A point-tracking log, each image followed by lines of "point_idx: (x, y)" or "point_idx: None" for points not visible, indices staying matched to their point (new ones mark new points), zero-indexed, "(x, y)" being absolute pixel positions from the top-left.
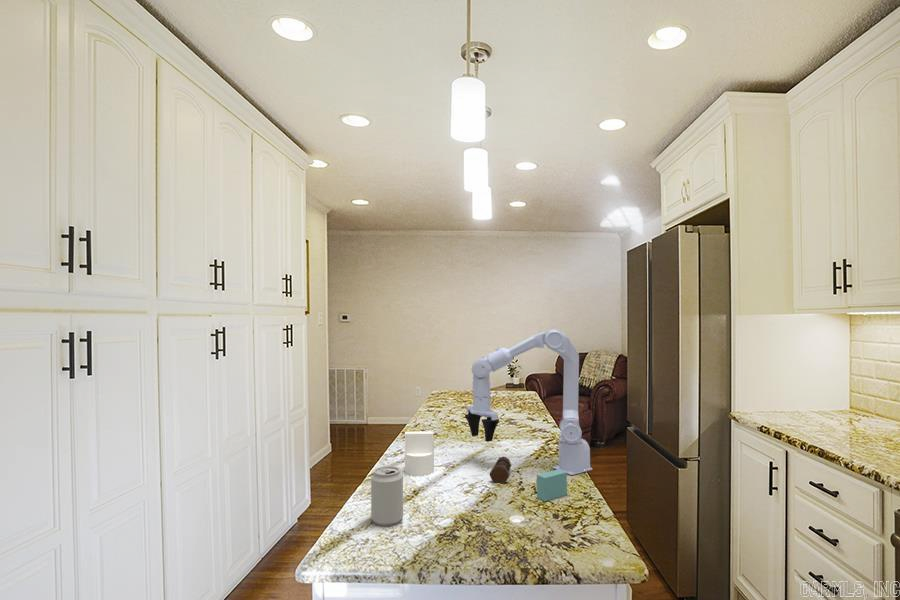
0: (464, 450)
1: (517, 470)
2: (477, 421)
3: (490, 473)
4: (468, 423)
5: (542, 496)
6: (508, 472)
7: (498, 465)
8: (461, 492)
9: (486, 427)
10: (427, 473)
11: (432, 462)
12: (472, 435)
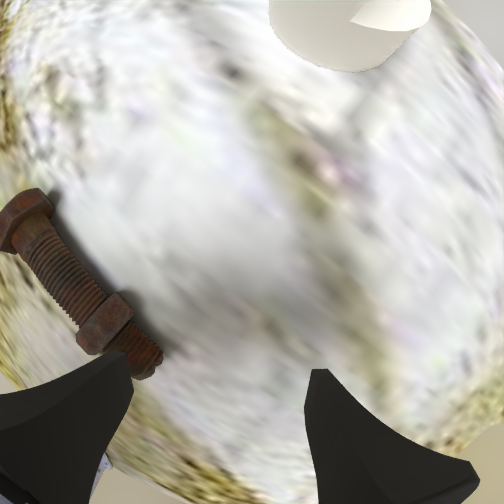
0: (432, 350)
1: None
2: (326, 502)
3: (29, 189)
4: (393, 431)
5: None
6: (10, 251)
7: (2, 226)
8: (58, 59)
9: (10, 393)
10: (269, 12)
11: (284, 15)
12: (318, 372)
